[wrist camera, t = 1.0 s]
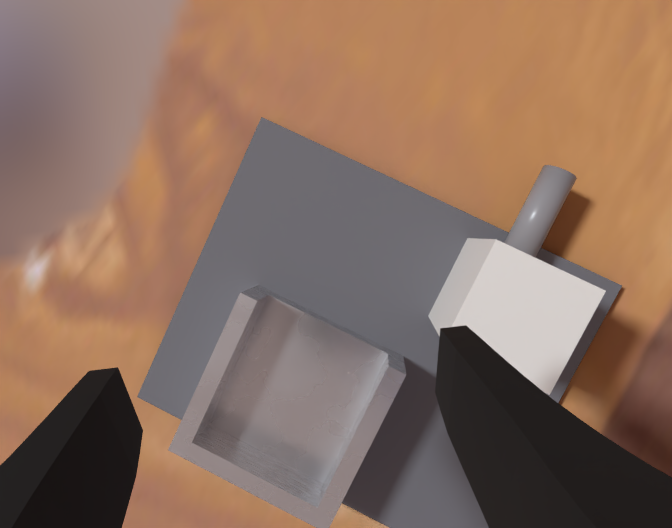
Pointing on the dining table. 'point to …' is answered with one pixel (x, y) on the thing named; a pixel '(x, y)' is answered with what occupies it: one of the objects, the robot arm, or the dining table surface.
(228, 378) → the end holder
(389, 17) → the dining table surface
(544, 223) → the cable plug
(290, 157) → the mat
